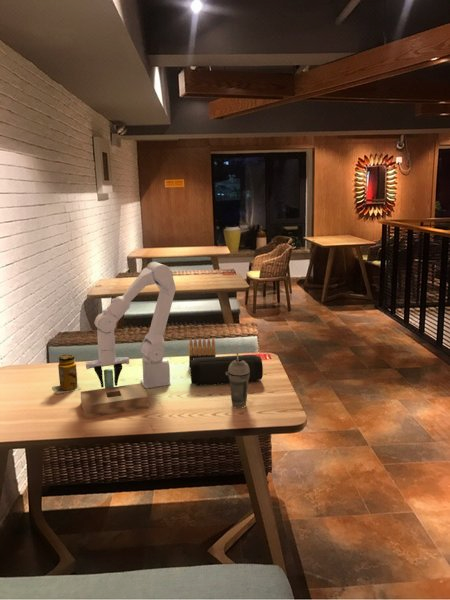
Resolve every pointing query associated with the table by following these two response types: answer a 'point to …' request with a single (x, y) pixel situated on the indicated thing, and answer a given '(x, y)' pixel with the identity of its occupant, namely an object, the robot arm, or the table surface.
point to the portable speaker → (222, 369)
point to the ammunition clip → (201, 349)
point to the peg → (108, 378)
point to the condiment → (67, 375)
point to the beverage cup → (238, 381)
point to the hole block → (113, 400)
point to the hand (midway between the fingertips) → (109, 385)
